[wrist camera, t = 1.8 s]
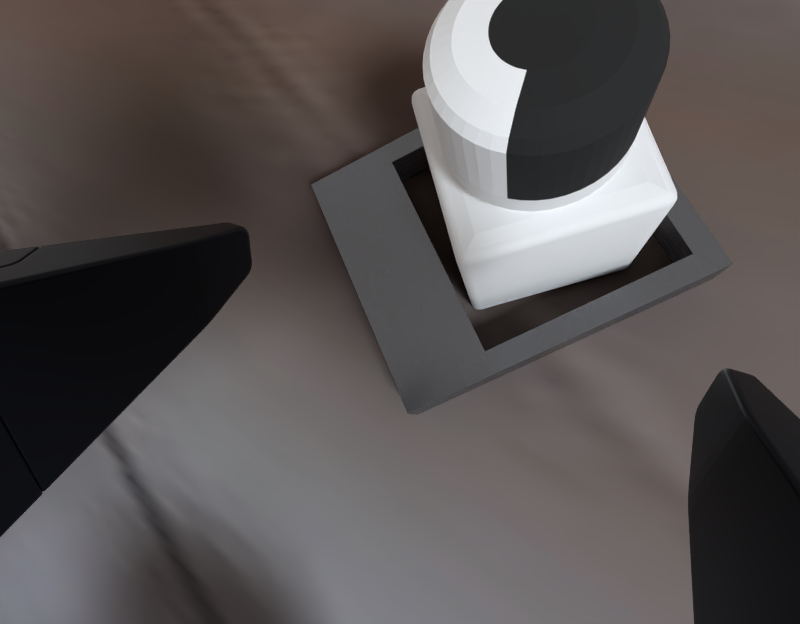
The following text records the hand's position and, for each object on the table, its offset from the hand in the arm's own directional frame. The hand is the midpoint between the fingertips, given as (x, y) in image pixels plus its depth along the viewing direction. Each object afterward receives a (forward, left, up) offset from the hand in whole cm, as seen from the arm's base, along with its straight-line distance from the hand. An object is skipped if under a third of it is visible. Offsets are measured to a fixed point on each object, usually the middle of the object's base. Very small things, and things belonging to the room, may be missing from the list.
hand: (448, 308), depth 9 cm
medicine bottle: (+5, +6, -14) cm, 16 cm away
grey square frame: (+3, +6, -13) cm, 15 cm away
